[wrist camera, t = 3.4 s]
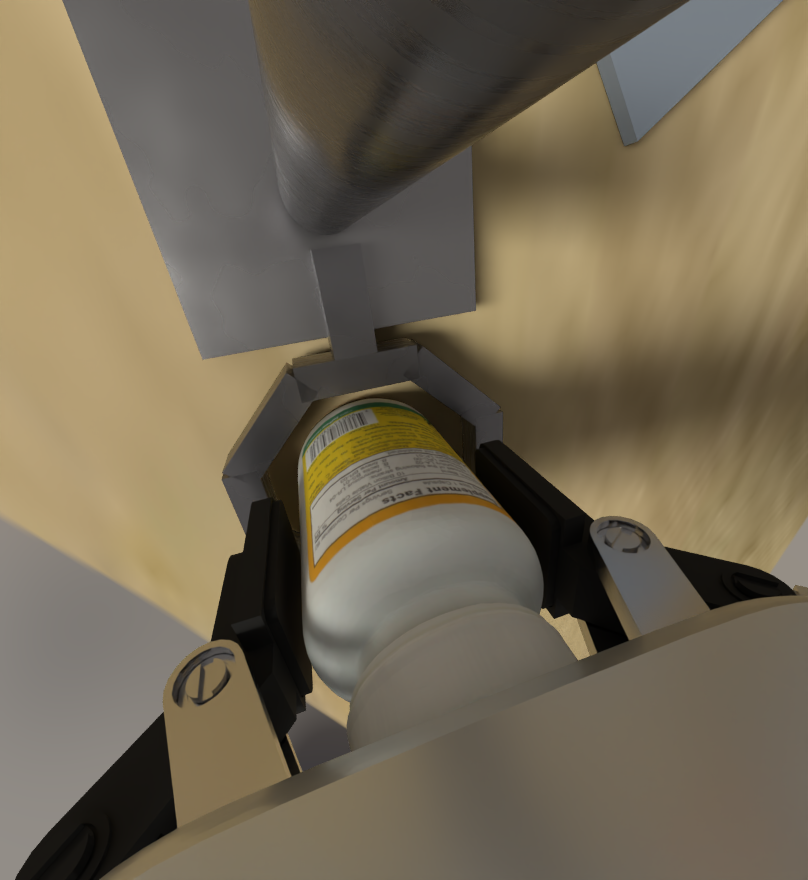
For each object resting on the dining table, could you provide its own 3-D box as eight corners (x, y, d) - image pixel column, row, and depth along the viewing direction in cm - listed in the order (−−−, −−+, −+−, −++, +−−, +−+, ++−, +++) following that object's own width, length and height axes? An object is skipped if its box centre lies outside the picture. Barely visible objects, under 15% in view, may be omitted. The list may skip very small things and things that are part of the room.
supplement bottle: (314, 379, 12) (371, 659, 3) (456, 410, 14) (711, 636, 5) (284, 514, 14) (274, 909, 5) (413, 525, 16) (554, 825, 7)
